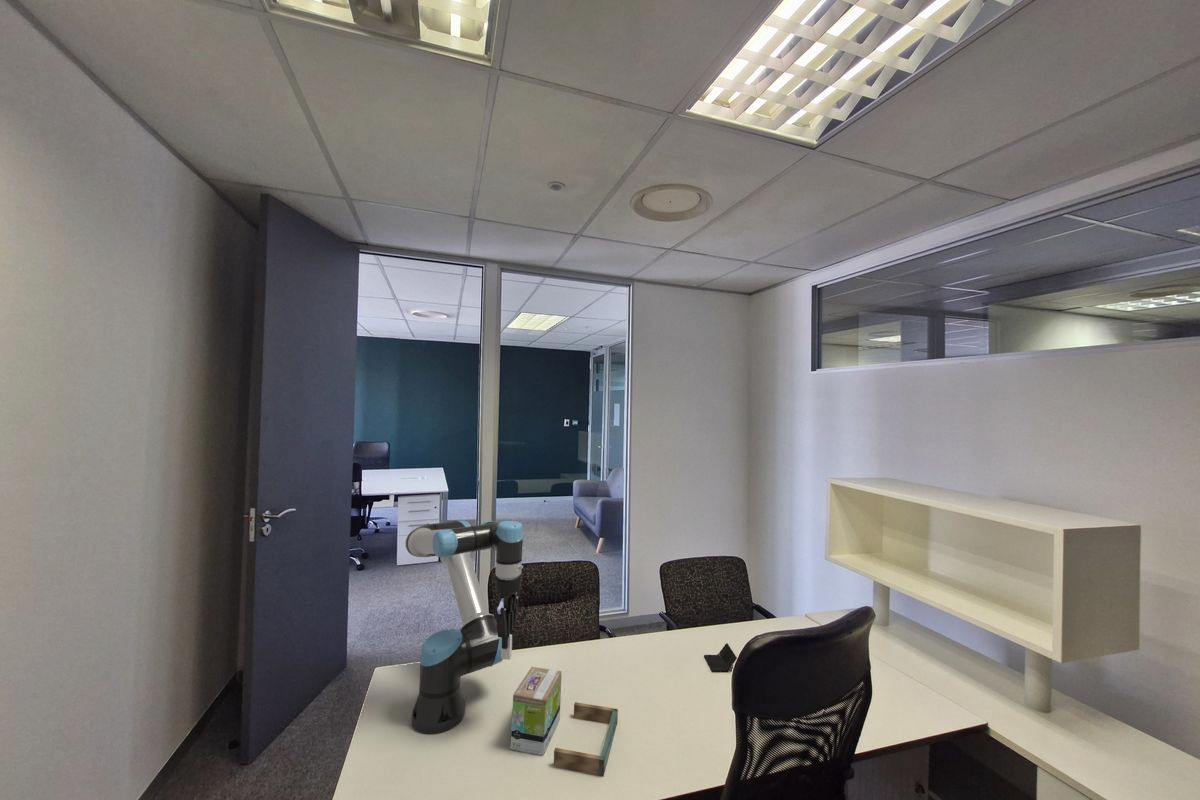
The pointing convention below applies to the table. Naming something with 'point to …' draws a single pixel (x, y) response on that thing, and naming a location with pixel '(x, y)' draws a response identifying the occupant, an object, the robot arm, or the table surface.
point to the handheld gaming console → (721, 660)
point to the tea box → (536, 710)
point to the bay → (584, 760)
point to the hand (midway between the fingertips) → (506, 657)
